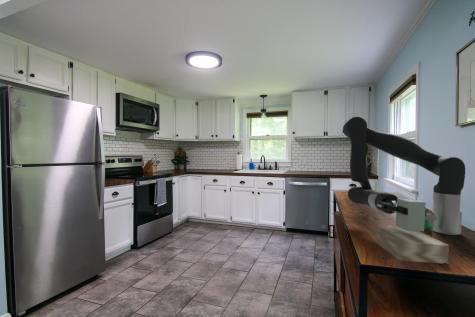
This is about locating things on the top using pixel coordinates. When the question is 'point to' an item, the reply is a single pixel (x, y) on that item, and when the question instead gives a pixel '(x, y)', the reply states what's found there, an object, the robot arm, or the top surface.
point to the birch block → (412, 245)
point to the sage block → (411, 215)
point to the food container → (429, 223)
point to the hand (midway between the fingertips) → (416, 212)
